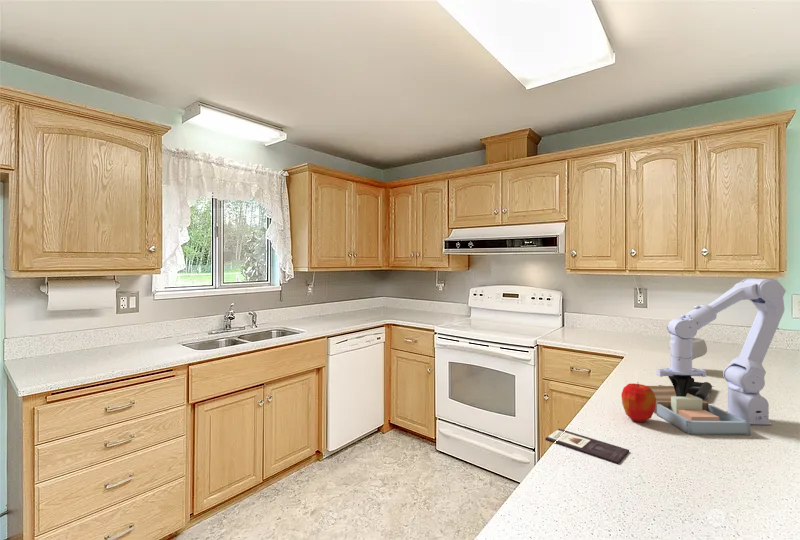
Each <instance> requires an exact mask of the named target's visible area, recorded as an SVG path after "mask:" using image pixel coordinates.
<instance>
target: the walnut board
mask: <svg viewBox="0 0 800 540" xmlns="http://www.w3.org/2000/svg"><path fill="white" fill-rule="evenodd" d="M647 386H648V387H649V388H650V389H651V390H652V391H653V392H654V395H655V397H656V405H655V410H654V412H653V414H656V415H657V404H661V405H662V406H664V407H666V408H668V409H670V410H671V396H676V393H675V389H674V387H673V385H663V386H658V385H647ZM686 397H695V396H693V395H691V394H689V393H687V395H686ZM708 405H710V403H709V402H708V401H706V400H702V410H706V411H708Z"/></svg>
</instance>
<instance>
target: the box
mask: <svg viewBox="0 0 800 540" xmlns="http://www.w3.org/2000/svg"><path fill="white" fill-rule="evenodd" d="M726 411H727V410H723V409H722V408H720V407H717V406H715V405H714V404H713V405H712V404H709V405H708V412H710V413H712V414H714V415H716V416H718V417H719V421H689V420H688V419H686V418H684V417H682V416H680V415H679V414H677V413H675V412H673V411H671V410H670V409H668V408H666V407H664V406H662V405H661V404H657V414H656V416H658V417H660V418H661V419H663V420H664V421H665V422H667V423H669V424H670V425H672V426H674V427H676V428H677V429H679V430H680V431H682V432H684V433H686V434H687V435H704V436H705V435H709V436H711V435H714V436H718V435H719V436H721V435H722V436H751V424H750V422H748V421H745V420H743V419H741V418H739V417H737V416H735V415H732V414H730V413H728V412H726Z"/></svg>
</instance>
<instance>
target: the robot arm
mask: <svg viewBox="0 0 800 540" xmlns="http://www.w3.org/2000/svg"><path fill="white" fill-rule="evenodd" d="M786 291H787V290H786V289H785V287H784V286H783V285H782V283H781V282H780V281H778V280H777V279H774V278H754V277H747V278H744V279H742V280H741V281H740V282H737V283H735V284H734V285H733V286H732V287H731V288H730V289H728V290H727V291H725V293H723V294H721V295H720V296H718V297H717V298H716V299H714V300H713V301H712V302H710V303H709V304H699V305H698V304H697V305H694V306H692V308H693V309H692V310H690V311H688V312H686V313H684V314H681V315H680V317H679V318H673V319H671V320H670V321H669V323H668V325H667V326H666V330H667V332H668V333H669V334H670V335H669V336H670V339H671V341H670V340H669V341H670V349H669V351H670V352H669V356H670V357H669V358H670V359H669V360H670V364H669V367H668V368H656V370H655V371H656V372H655V373H656V374H655V375H656V376H658V377H660V378H661V377H668V379H669V380H670V382H671V384H672V386H673V387H674V389H675V393H676V396H680V397H686V395H687V392H688V390H689V388H690V386H691V385H692V383H693V382H695V378H694V377H702V378H707V370H704V369H700V368H699V369H698V368H696V369H692V368H693V360H692V337H695V336H696V335H697V333H698V331H699V330H700V329H702V328H703V327H705V326H707V325H708V324H710V323H712V322H714V321H715V320H716V319H717V315H718V313H720V312H722V311H724V310H726V309H727V308H729V307H731V306H733V305H735V304H736V303H738V302H740V301H745V300H746V301H748V300H749V301H750V303H751V302H752V304H753V305H754V306H755V308H756V309H757V312H756V315H755V318H754V320H753V323H752V324H751V327H750V330H749V332H748V334H747V337H746V338H745V342H744V344H743V346H742V349H741V351H740V353H739V356H737V357H735V358H732V359H731V361H730V363H729V364H728V365H727V366H726V367H725V368H724V369H723V372H722V376H723V378H724V380H725V381H726V382H727V410H725V411H726V412H728V413H730V414H732V415H735V416H737V417H739V418H741V419H743V420H745V421H748V422H750V425H768V426H769V425H772V422H770V421H769V413H770V412H769V410H770V409H769V407H770V406H769V402H768V400H767V399H766V398H765V397H764V396H762V395H761V394H760V392H761V391H762V390H763V388H764V387H765V386H766V382H765V381H766V380H765V376H766V373H767V372H766V370H765V367H764V366H763V362H764V360H765V357H766V355H767V352H768V350H769V347H770V345H771V343H772V340H773V338H774V336H775V333H776V331H777V329H778V327H779V324H780V322H781V319H782V318H783V316H784V313H785V302H784V301H785V300H784V296H785V294H786Z"/></svg>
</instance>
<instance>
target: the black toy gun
mask: <svg viewBox="0 0 800 540" xmlns="http://www.w3.org/2000/svg"><path fill="white" fill-rule="evenodd" d="M657 386H664V385H662V384H658V385H657ZM713 387H715V386H713V385H712V384H711V383H710V382H708V381H704V382H699V381H694V382H693V383H692V385H691V386H690V388H689V390H688V392H687V393H689V394H691V395H693V396H695V397H698V398H701V399H702V400H704V401H706V398H707V397H708V398H709V396H710V394H711V392H710V391H712V389H713ZM708 395H709V396H708Z"/></svg>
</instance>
